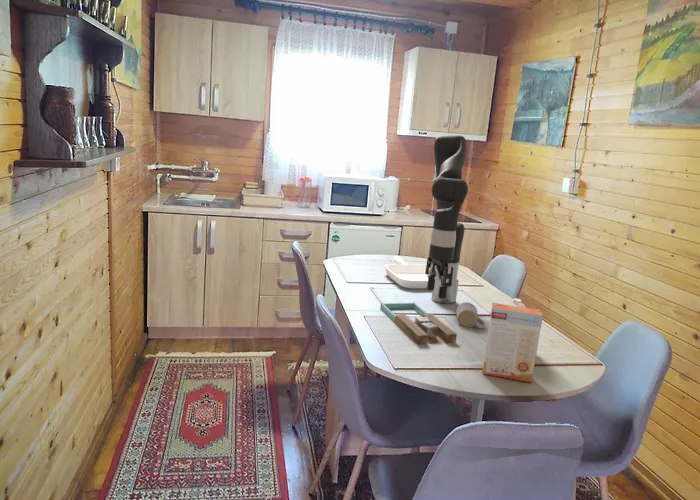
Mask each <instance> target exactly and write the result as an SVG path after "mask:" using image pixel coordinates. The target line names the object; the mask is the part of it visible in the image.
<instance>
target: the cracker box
mask: <svg viewBox="0 0 700 500" xmlns="http://www.w3.org/2000/svg"><path fill="white" fill-rule="evenodd" d="M543 317H544V315H543V312H542V310H541V309H536V308H530V307H526V308H524V307H517V306H513V305H509V304H504V303H498V302H492V304H491V310H490V317H489V324H488V330H487V338H486V342H485V343H486V344H485V351H484V355H483V356H484V357H483V363H482V364H483V365H482V375H485V374H487V375H486V376H490V375H494V376H493V377H496V376H499V377H498V378H501V377H504V378H503V379H507V378H510V379H509V380H512V379H515V380H514V381H518V380H520V381H519V382H523V381H525V382H524V383H528V382H530V383H529V384H531V383H532V381H533V375H534V369H535V363H536V357H537V352H538V346H539V341H540V335H541V330H542V323H543Z"/></svg>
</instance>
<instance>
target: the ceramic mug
mask: <svg viewBox="0 0 700 500" xmlns="http://www.w3.org/2000/svg"><path fill="white" fill-rule="evenodd" d="M455 313H456V320H457V322H458V324H459V325H460V326H463V327H469V328H473V327H476V328H479V329H484V327H486V323H485V321H484V320H482V319H481V318H480V317H479V316H478V309H477V307H476V306H475V305H474V304H473V303H471V302H469V301H468V302H462V303H460V304H458V306H457V308H456V311H455Z"/></svg>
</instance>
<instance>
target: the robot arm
mask: <svg viewBox="0 0 700 500" xmlns="http://www.w3.org/2000/svg"><path fill="white" fill-rule="evenodd" d="M433 155H434V163H435V175H436V177H435V180H434V181H433V183H432V187H431V195H432V197H433V199H434V200H436V211H434V212H435V213H434V218H433V223H432V224H433V226H432V230H431V235H430V241H429V242H430V243H429V250H428V257H427V260H426V264H425V265H426V271H425V274H426V275H427V278H428V284H427V289H426V290H427V291H432V293H431V300H432V301H433V302H436V303H439V304H447V305H448V304H453V303H457V302H456V301H457V296H458V289H459V288H458V287H459V279H458V274H459V273H458V272H459V266H460V258H461V253H462V252H461V251H462V246H463V243H464V242H463V240H464V237H465V225H464V224H463V223H462V222H458V218H459V216H460V211H461V209H462V207H463V204H464V202H465V200H466V197H467V195H468V192H469V186H468V183H467V182H466V181H465V180H464V179H463V178H462V175H463V173H462V172H463V168H464V164H465V160H466V158H467V140H466V138H465V137H464V136H462V135H459V134H458V135H456V134H455V135H439V136H436V137H435V140H434V143H433ZM429 268H430V269H429Z"/></svg>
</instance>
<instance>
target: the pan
mask: <svg viewBox="0 0 700 500" xmlns="http://www.w3.org/2000/svg"><path fill="white" fill-rule="evenodd" d="M392 258H393V260H394V261H395V262H397V263H387V264H385V265H384V269H385V272H386V274H387V277H388V278H390V280H392V281H393V282H394V283H395V284H396V285H398V286H399V287H401V288H404V289H411V290H422V289H423V290H428V289H427V284H428V278H427V275H426V274H425V271H426V265H427V264H421V263H420V264H415V263H414V264H413V263H407V262H405V261H404V259H403V258H401V257H400V256H397V255H395V256H393V257H392ZM429 269H430V268H429Z"/></svg>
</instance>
